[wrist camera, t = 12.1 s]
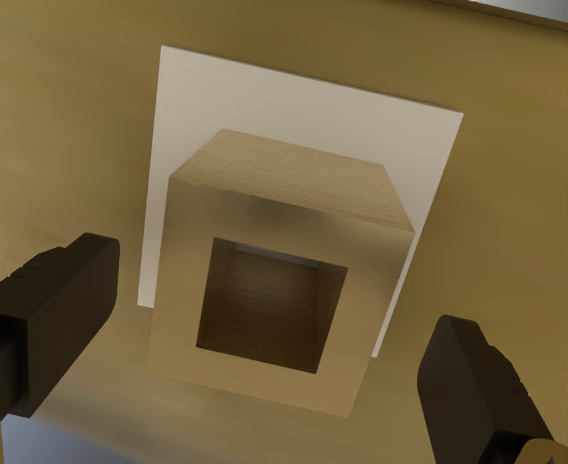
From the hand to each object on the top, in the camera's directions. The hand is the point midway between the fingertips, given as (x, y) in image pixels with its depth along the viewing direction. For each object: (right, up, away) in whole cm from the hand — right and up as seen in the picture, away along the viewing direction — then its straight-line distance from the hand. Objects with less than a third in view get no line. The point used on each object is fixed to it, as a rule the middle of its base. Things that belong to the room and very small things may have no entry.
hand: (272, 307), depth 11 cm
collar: (0, +2, +5) cm, 6 cm away
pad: (0, +3, +6) cm, 7 cm away
